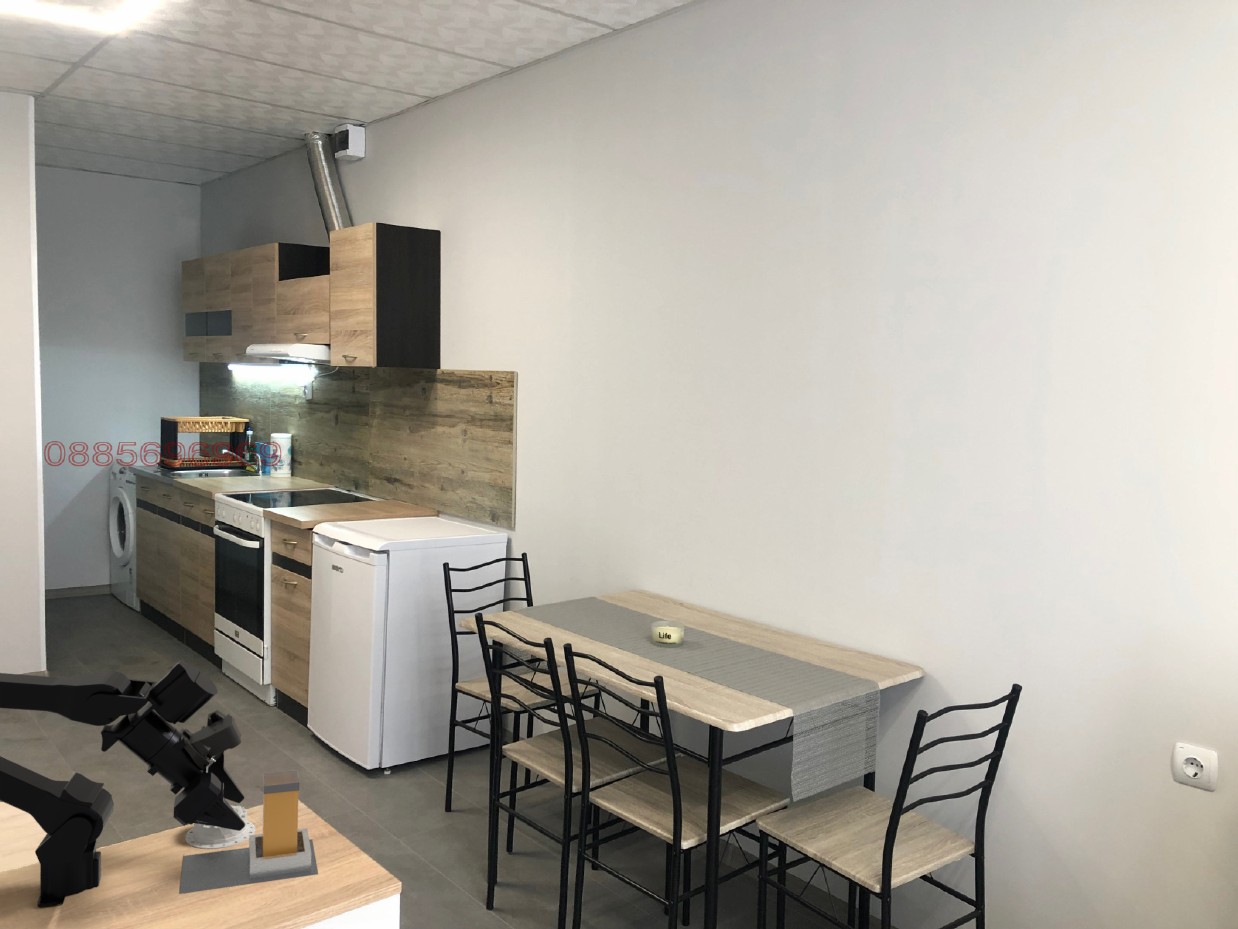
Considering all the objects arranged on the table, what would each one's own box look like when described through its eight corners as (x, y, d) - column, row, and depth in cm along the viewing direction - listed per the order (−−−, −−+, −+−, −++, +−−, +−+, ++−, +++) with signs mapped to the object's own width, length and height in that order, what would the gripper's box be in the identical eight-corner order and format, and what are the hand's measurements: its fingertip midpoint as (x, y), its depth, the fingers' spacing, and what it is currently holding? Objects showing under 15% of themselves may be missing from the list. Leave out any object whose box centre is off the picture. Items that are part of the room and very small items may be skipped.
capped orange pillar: (261, 871, 135) (263, 786, 134) (261, 855, 139) (263, 773, 138) (297, 866, 137) (299, 782, 136) (295, 851, 141) (297, 769, 140)
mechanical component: (173, 841, 145) (205, 864, 139) (173, 813, 145) (205, 835, 138) (234, 820, 153) (267, 841, 146) (235, 794, 152) (268, 813, 146)
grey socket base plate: (179, 900, 128) (179, 876, 128) (183, 862, 138) (183, 839, 138) (318, 880, 135) (318, 857, 135) (312, 845, 145) (312, 823, 145)
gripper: (204, 724, 124) (289, 797, 129) (207, 682, 141) (282, 748, 146) (135, 788, 121) (225, 861, 126) (147, 737, 138) (225, 803, 143)
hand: (242, 813), depth 135 cm, fingers open, 9 cm apart
